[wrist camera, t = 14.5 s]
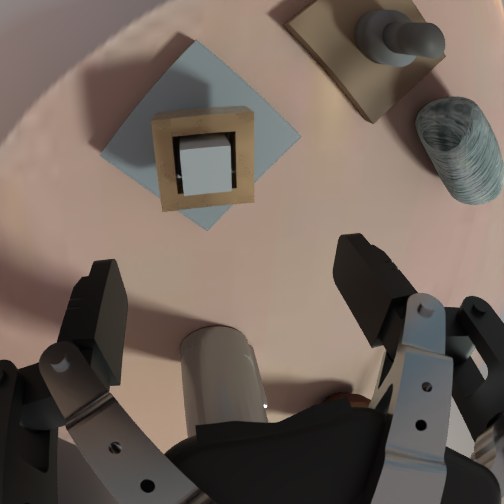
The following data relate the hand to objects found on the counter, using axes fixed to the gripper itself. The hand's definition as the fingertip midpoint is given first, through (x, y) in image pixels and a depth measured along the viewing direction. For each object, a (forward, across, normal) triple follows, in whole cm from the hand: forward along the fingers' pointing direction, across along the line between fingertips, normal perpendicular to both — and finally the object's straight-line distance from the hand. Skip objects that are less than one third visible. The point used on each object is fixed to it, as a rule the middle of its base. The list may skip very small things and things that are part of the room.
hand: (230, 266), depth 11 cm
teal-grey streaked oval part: (+18, -27, 0) cm, 32 cm away
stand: (+18, -15, -10) cm, 26 cm away
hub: (+18, 0, 0) cm, 18 cm away
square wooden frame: (+14, 0, 0) cm, 14 cm away
